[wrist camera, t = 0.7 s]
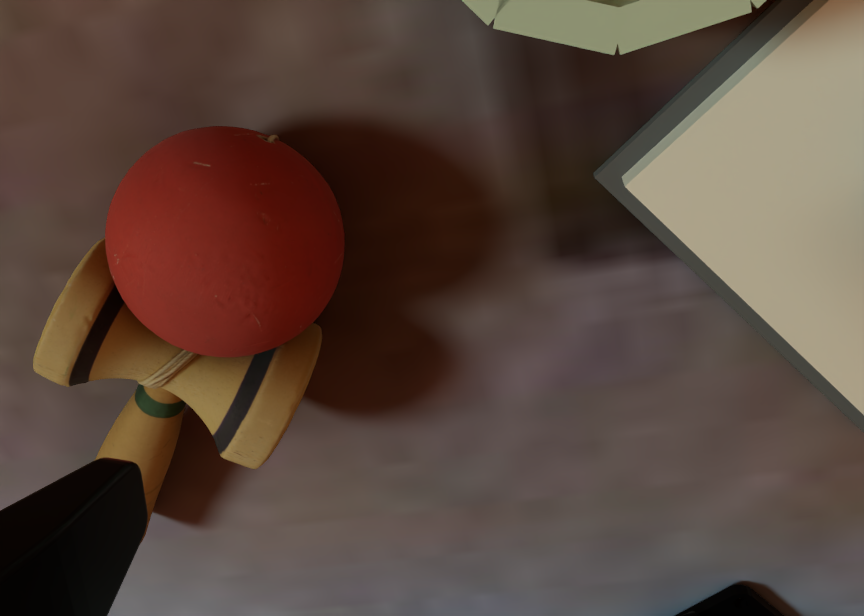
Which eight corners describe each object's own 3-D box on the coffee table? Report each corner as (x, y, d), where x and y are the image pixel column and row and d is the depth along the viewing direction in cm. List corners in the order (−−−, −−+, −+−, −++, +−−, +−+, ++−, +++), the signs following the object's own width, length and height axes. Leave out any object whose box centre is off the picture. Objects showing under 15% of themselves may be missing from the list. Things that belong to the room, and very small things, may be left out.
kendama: (243, 523, 30) (446, 207, 19) (140, 653, 25) (338, 322, 14) (97, 415, 30) (216, 42, 19) (-36, 522, 25) (26, 95, 14)
